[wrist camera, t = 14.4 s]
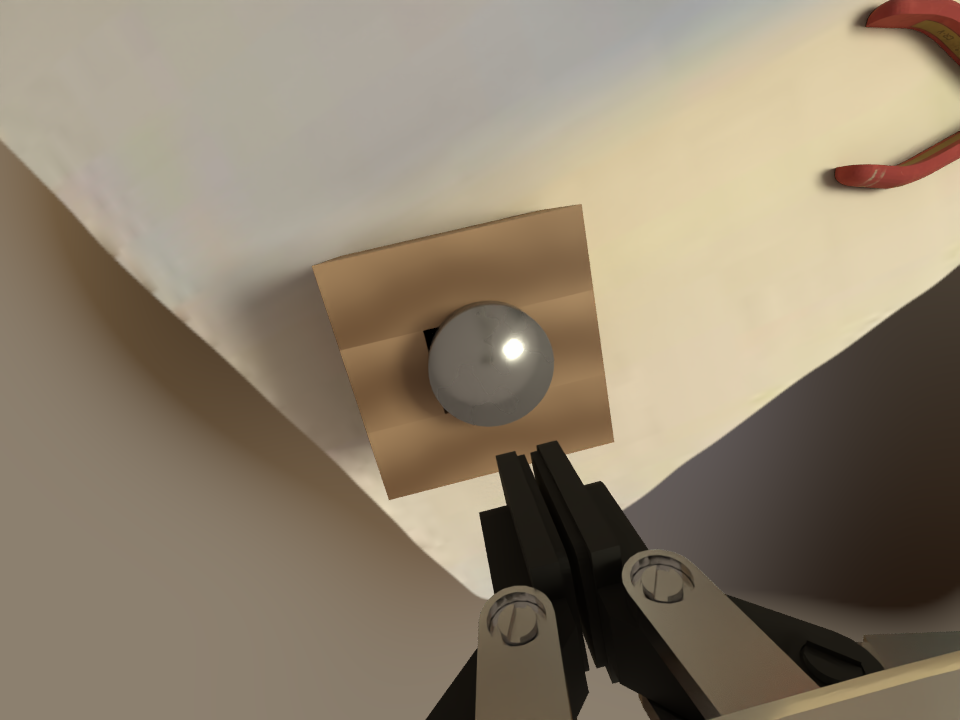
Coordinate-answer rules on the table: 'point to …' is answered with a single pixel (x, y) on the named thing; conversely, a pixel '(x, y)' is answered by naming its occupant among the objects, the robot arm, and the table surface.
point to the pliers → (956, 30)
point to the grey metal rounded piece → (490, 363)
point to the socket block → (425, 305)
